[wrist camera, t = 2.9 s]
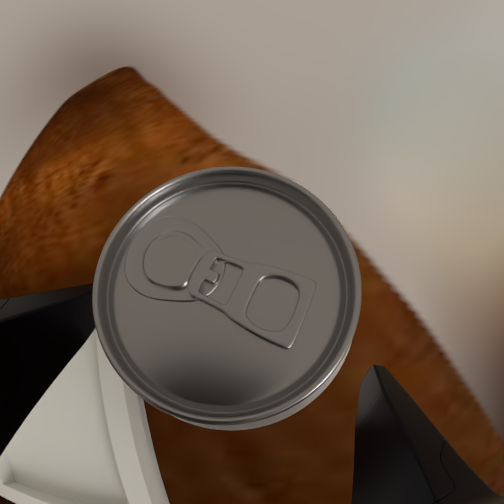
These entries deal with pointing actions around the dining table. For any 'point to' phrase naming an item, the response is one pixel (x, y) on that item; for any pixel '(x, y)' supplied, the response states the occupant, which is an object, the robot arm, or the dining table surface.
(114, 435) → the tray
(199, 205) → the can
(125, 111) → the dining table surface
